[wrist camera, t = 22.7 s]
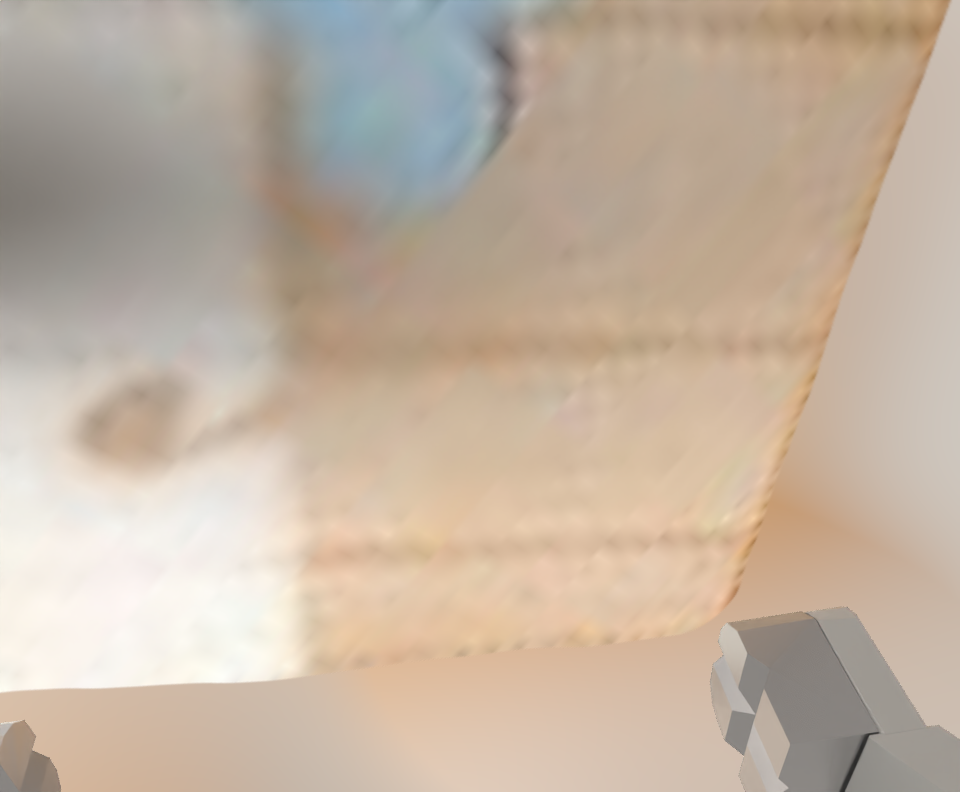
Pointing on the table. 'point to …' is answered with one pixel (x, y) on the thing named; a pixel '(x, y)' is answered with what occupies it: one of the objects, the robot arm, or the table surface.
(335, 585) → the table surface
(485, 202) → the table surface
